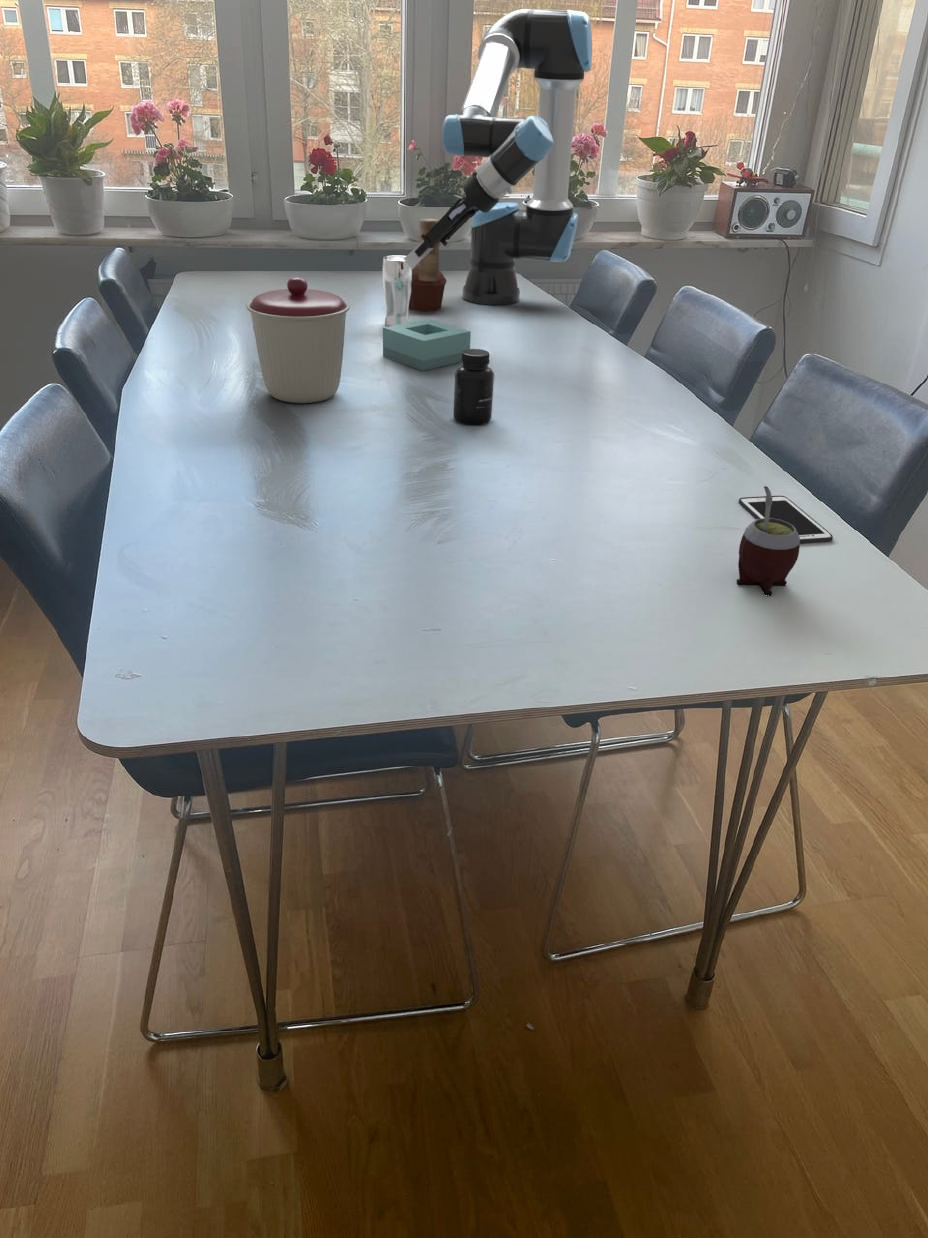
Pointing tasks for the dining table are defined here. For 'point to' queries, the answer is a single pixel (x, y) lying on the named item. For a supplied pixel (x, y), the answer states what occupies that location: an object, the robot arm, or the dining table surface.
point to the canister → (299, 341)
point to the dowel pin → (431, 260)
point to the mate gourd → (767, 551)
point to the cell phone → (788, 517)
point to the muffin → (426, 292)
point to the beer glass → (397, 289)
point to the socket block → (425, 343)
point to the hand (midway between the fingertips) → (413, 261)
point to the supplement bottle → (473, 388)
